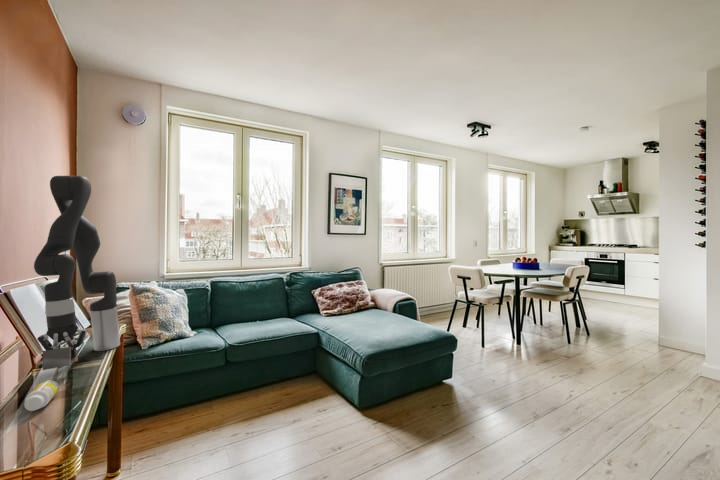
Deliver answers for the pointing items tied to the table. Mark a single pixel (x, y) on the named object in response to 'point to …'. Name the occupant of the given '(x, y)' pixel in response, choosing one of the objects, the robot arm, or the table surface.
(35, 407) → the supplement bottle
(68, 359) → the grey brown rectangular block
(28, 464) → the table surface
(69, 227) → the robot arm
